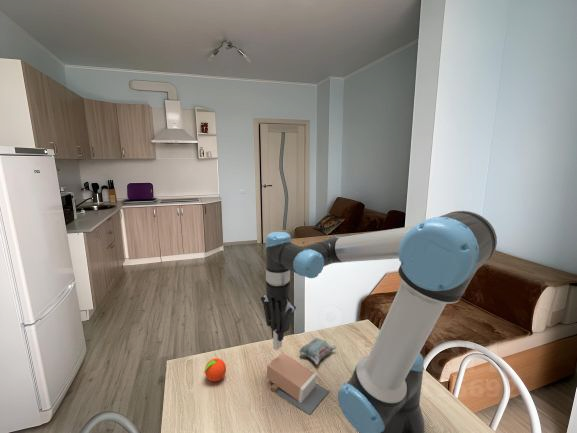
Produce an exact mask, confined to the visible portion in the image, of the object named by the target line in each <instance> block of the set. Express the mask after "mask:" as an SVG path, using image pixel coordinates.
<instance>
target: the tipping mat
mask: <svg viewBox="0 0 577 433" xmlns="http://www.w3.org/2000/svg"><path fill="white" fill-rule="evenodd" d="M270 391H271V392H272V393H274V394H276V395H277V396H279V397H280V398H282V399H284V400H285V401H287V402H288V403H289V404H291V405H293V406H294V407H295V408H298V409H299V410H301V411H302V412H303V413H305V414H307V415H309V416H311V415H312V413H313V412H314V411H315V410H316V409H317V407H318V406H319V405H320V403H322V402H323V400H324V399H325V398H326V396H327V395H328V394H329V392H330V390H329V389H327V388H325V387H323V386H321V385H320V384H318V383H316V385H315V388H314V389H313V390H312V391H311V392H310V393H309V395H308V396H307V397H306V398H305V399H304V400H303V402H302V403H300V402H299V401H297V400H296V399H295V398H293V397H292V396H291V395H289V394H288V393H286V392H285V391H284V390H282V389H281V388H280V387H278V386H277V385H275V384H274V383H273V384H271V385H270Z"/></svg>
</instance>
